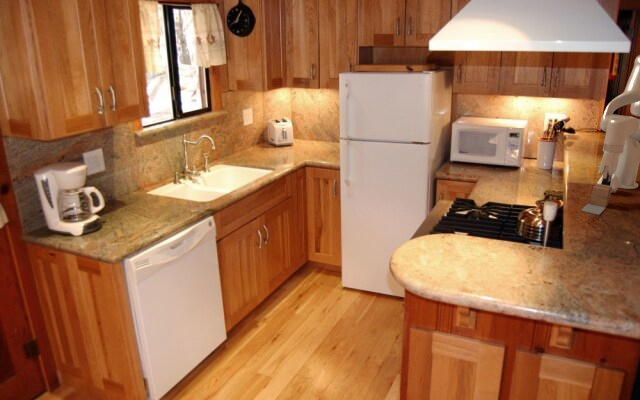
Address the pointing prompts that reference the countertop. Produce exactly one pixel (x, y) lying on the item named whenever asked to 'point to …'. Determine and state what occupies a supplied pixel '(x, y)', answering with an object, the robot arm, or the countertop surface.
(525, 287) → the countertop surface
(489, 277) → the countertop surface
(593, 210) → the mat
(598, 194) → the block
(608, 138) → the robot arm
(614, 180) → the die
